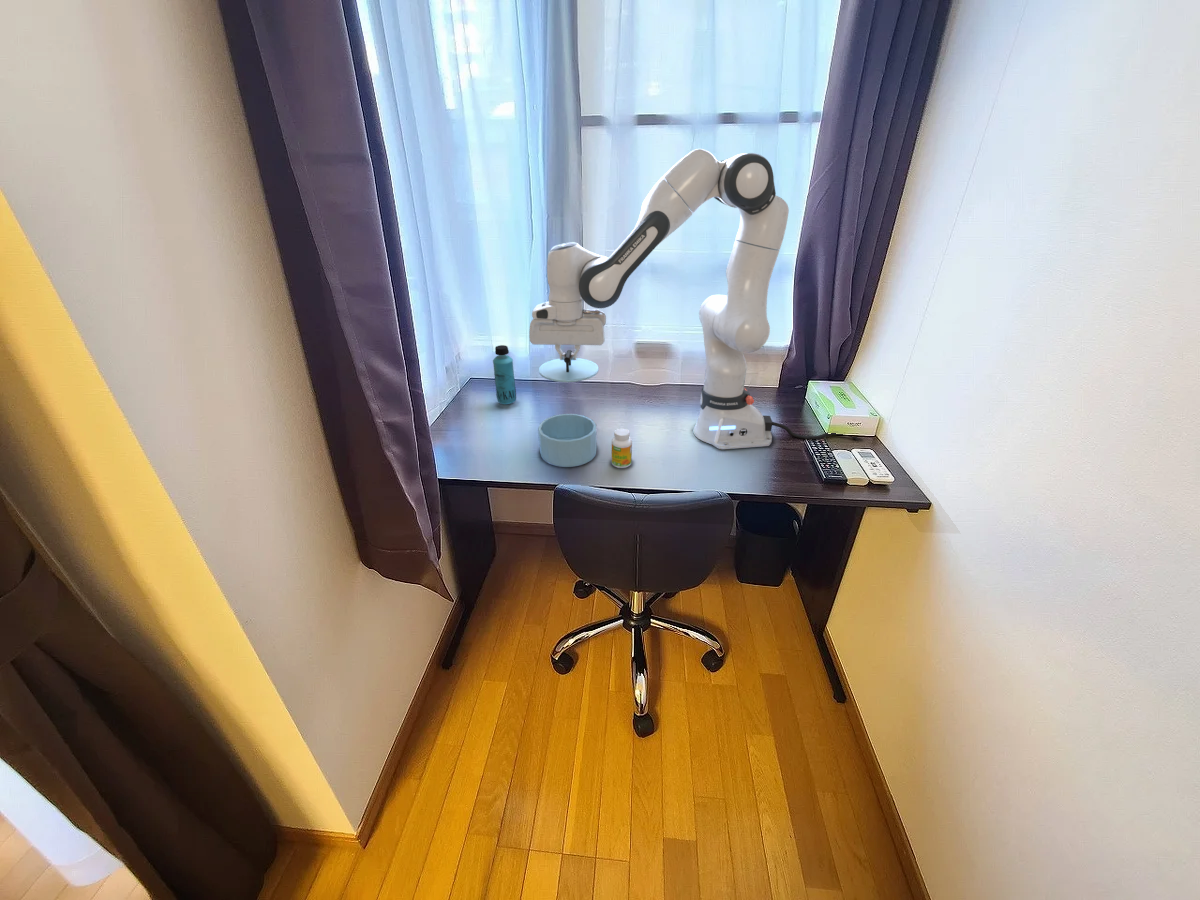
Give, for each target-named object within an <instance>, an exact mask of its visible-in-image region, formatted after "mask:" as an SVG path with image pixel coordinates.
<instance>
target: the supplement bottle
mask: <svg viewBox="0 0 1200 900" xmlns="http://www.w3.org/2000/svg"><path fill="white" fill-rule="evenodd" d="M630 435H631V433H630V430H629V429H627V428H623V427H621V428H620V427H619V428H616V429H615V430H614V435H613V436H614V437H612V439H611V455H610V456H611V465H612V466H613V467H615V468H616V469H617V468H618V469H626V468H628V467H630V466H631V465H632V454H633V453H632V452H633V439H632V438H631V437H630Z"/></svg>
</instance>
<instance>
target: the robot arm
mask: <svg viewBox="0 0 1200 900" xmlns="http://www.w3.org/2000/svg"><path fill="white" fill-rule="evenodd" d="M774 179H775V176H774V171H773V167H772V165H771V163H770V162H769V160H768V159H767V158H766V157H765V156H763V155H761V154H759V153H757V152H756V153H755V152H748V153H747V152H745V153H738V154H736V155H734V156H732V157H729V158H726V159H723V160H718V159H717V158H716V157H715V156H714V155H713V154H712V153H711V152H710V151H708V150H707V149H704V148H696V149H693V150H691V151H690V152H688V153H687V154H685V156H684V157H682V158H681V159H679V160H678V161H677V162H676V163H675V164H674V165H672V166H671V167H670V168H669V170H667V172H665V173H664V174H663V176H661V177H660V178H659V180H658V181H656V183H655V184H654V185H653V187H652V188H651V189H650V190H649V193H648V194H647V195H646V197H645V198H644V200H643V201H642V204H641V209H640V213H639V216H638V220H637V222H636V224H635V225H634V228H633V229H632V231H631V232H630V234H629V235H628V236H627V237H626V238H625V239H624V240H623V241H622V242H621V243H620V245H619V246H618V247H617V248H616V249H615V250H614V251H613V252H612V253H611V255H610V256H609V257H608V256H605V255H601V254H597V253H595V252H593V251H589V250H588V249H586V248H584V247H582V246H581V245H580V244H579V243H578V242H576V241H567V242H562V243H559V244H556V245H553V246H552V247H551V248H550V250H549V251H548V254H547V260H546V277H547V283H548V287H549V293H548V301H544V302H541V303H538V304H536V305H535V306H534V307H533V310H532V311H531V316H532V319H531V321H530V324H529V330H528V331H529V332H528V333H529V335H528V337H529V342H530V343H531V344H532V345H534V346H535V345H537V346H538V345H539V346H541V345H543V346H545V345H546V346H554V349H555V350H556V352H557V353H558V355H559V359H560V360H564V358H565V355H566V352H567V351H563V349H562V348H561V347H562V346H574V349H575V350H574V351H572V352H571V360H577V358H578V353H579V351H580V349H581V346H603V344H604V343H605V341H606V335H605V334H606V333H605V332H606V331H605V326H606V324H607V316H606V314H605V312H603V311H602V310H600V309H606V308H609V307H611V306H613V305H614V304H615V303H616V302H617V301H618V300H619V298H620V297H621V294H622V292H623V289H624V286H625V284H626V282H627V280H628V279H629V278H630V276H631V275H632V274H633V273H634V272H635V271H636V270H637V269H638V267H639V266H640V265H641V264H642V263H643V262H644V261H645V260H646V258H647V257H649V255H650V254H651V253H652V252H654V250H655V249H656V248H657V247H658V245H660V244H661V243H662V242H664V241H665V239H667V238H668V237H669V236H671V234H673V233H674V232H675V231H677V230H678V229H679V228H680V227H681V226H682V225H683V224H684V223H686V222H687V220H689V219H690V218H691V217H692V216H693V215H694V214H695V212H697V210H698V209H699V208H701V206H702V205H703V204H705V203H706V202H707V201H709V200H711V199H715V200H717V201H718V202H719V203H721V204H723V205H725V206H729V207H730V208H734V209H738V212H739V217H740V218H739V227H738V231H737V233H736V236H735V239H734V243H733V245H732V248H731V251H730V255H729V259H728V262H727V265H726V268H725V269H726V270H725V277H726V281H727V294H718V293H717V294H712V295H710V296H708V297H707V298H705V299H704V300H703V301H702V303H701V305H700V307H699V311H698V317H699V321H700V324H701V327H702V328H701V329H702V335H703V345H704V353H705V369H704V381H703V386H702V387H701V392H700V399H699V406H700V408H699V412H698V416H697V419H696V421H695V422H696V423H695V425H694V427H693V429H692V430H693V431H692V432H693V435H694V436H695V438H697V439H698V440H700V441H702V442H704V443H707V444H710V445H711V446H713V447H715V448H717V449H718V450H733V449H745V448H746V449H748V448H760V447H761V448H763V447H770V445H771V444H772V441H773V435H772V430H773V429H772V428H773V426H774V427H778V428H781V429H783V430H785V431H786V432H787V434H788V435H790V437H791V436H792V437H794V438H796V439H801V440H820V439H824V438H826V437H829V436H844V435H843V434H836V433H831V434H828V432H825V433H822V434H819V435H803V434H798V433H795V432H793V431H792V430H791V428H789V427H788V426H786V425H785V424H783V423H779V422H775V421H773V420H772V417H771V415H763V413H762V412H761V410H759V408H757V407H756V406H754V405H753V404H754V403H755V399H754V397H753V396H751V393H750V392H749V391H748V390H747V389H746V387H745V383H746V377H747V371H748V370H747V369H748V364H747V360H746V357H745V355H744V353H746V354H751V353H755V352H757V351H759V350H760V349H761V348H763V346H765V344H766V343H767V341H768V339H769V337H770V333H771V327H770V322H769V319H768V313H767V311H768V310H767V309H768V308H767V305H768V293H769V286H770V283H771V282H770V281H771V279H772V275H773V272H774V269H775V265H776V262H777V260H778V256H779V253H780V250H781V247H782V244H783V241H784V238H785V233H786V229H787V224H788V221H789V212H790V208H789V205H788V203H787V202H786V201H785V199H783V198H782V197H780V196H779V195H776V194H777V193H776V186H775V180H774ZM584 303H585V304H586V305H588V306H590V307H592V308H595V309H587V308H586V309H584ZM845 436H846V437H850V438H852V439H853V440H854V441H859V438H858V436H856V437H852V436H848V435H845Z"/></svg>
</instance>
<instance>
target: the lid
mask: <svg viewBox="0 0 1200 900" xmlns="http://www.w3.org/2000/svg"><path fill="white" fill-rule="evenodd" d="M565 352H566V355H565V358H564V360H560V358H555V359H551V360H548V361H546V362H544V363H543V364H540V366H539V368H538V373H539V375H540V376H541V377H542V378H544V379H545V380H548V381H552V382H556V383H557V382H559V383H576V382H582V381H586V380H589V379H592V378H593V377H595V376H597V374H598V373H599V368H600V367H599V365H598V364H597V363H596V362H594V361H592V360H590V359H586V358H581V357H577V360H571V352H573V351H572V350H571V349H568V350H566V351H565Z"/></svg>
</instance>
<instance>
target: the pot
mask: <svg viewBox="0 0 1200 900" xmlns="http://www.w3.org/2000/svg"><path fill="white" fill-rule="evenodd" d="M537 433H538V446H539V453H540V457H541V458H542V460H543V461H544V462H545V463H548V464H549V465H552V466H556V467H561V468H572V467H578V466H582V465H584V464H585V465H586V464H587V463H589V462H591V461H592V460H593V459H594V458H595V457H596V455H597V449H598V448H597V447H598V446H597V444H598V443H597V424H596V422H595V421H594V420H593V419H592V418H590V417H588V416H586V415H582V414H578V413H562V414H555V415H552V416H549V417H547V418H544V419H543V421H540V423H539V425H538V428H537Z"/></svg>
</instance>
